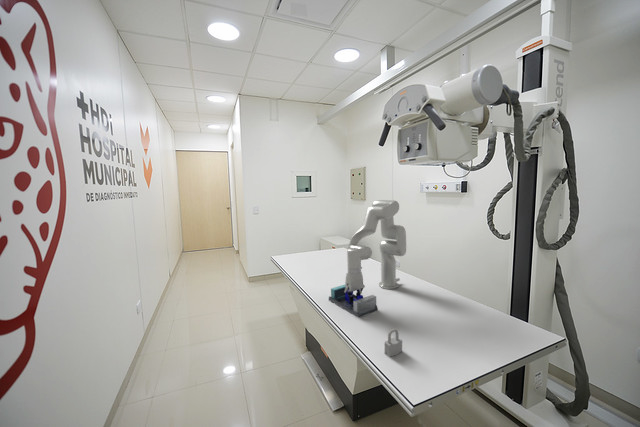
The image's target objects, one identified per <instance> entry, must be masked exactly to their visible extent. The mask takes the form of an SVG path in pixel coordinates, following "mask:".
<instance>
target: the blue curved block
mask: <svg viewBox="0 0 640 427" xmlns="http://www.w3.org/2000/svg"><path fill="white" fill-rule="evenodd" d="M348 291H349V290H348ZM350 293H351V292H350ZM362 298H364V295H362V294H361V295H359V296H357V300H359V299H362ZM345 300H346V301H348V302H349V295H348V294H346V293H345ZM354 301H356V300H355V299H354ZM350 303H351V302H350ZM351 304H352V303H351Z"/></svg>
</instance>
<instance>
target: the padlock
mask: <svg viewBox="0 0 640 427" xmlns="http://www.w3.org/2000/svg"><path fill="white" fill-rule="evenodd" d="M393 333H395V337H392V335H393ZM387 334H388V335H387V340H386V341H384V343H383V344H384V354H385V355H387V356H388V357H389V358H390V357H393V356H396V355H399V354H400V353H402V352H403V340H402V339H401V338H400V336H399V335H400V333H399V330H398V329H397V328H391V330H389V331H388V333H387Z"/></svg>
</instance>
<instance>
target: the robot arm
mask: <svg viewBox="0 0 640 427" xmlns="http://www.w3.org/2000/svg"><path fill="white" fill-rule="evenodd" d="M371 204H372V205H371V206H369V207H368V208H367V209H366V212H365V215H364V219H363V222H362V225H361V227H360V229H358V230H357V231H356V232H355V233H354V234H353V235H352V236H351V238H350V240H349V244H348V246H347V247H348V248H347V252H346V254H347V257H346V258H347V273H346V275H345V282H344V285H345V291H344V292H345V293H346V294H348V295H349V302H351V303H352V304H353V301H354V297H353V294H354V292H356V293H355V295H356V299H357V296H359V295H362V293H363V292H362V291H363V290H364V288H365V287H366V286H365V284H364V277H363V272H362V269H363V267H362V261H365V260H369V259H370V258H371V257H372V255H373V250H372V248H370V247H369V246H366V245H360V244H359V242H360V241H361V240H362V239H364V238H366V237H369V236H371V235H374V234H375V232H376V230H377V227H378V224H379V221H380V233H381V234H380V235H381V237H382V238H383V239H384V240H382V241H381V242H380V243H379V253H380V265H381V267H380V268H381V269H380V270H381V273H380V274H381V276H380V277H381V279H380V280H381V281H380V282H379V283H378V286H379V287H380V288H382V289H386V290H395V289H398V287H399V284H398V283H397V282H400V281H401V278H400V277H398V278H397V275H396V274H397V273H396V272H397V270H396V265H397V263H396V258H395V256H396V257H403V256H405V255H406V253H407V232H406V229H405V227H404V226H402V225H399V224H395V222H394V216H395V215H396V214H397V213H398V212H399V210H400V204H399V202H398V201H397V200H394V199H393V200H388V199H387V200H386V199H381V200H380V199H379V200H374V201H373V202H372V203H371ZM348 290H349V291H348ZM350 292H351V293H350Z"/></svg>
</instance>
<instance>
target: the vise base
mask: <svg viewBox="0 0 640 427" xmlns="http://www.w3.org/2000/svg"><path fill="white" fill-rule="evenodd" d="M353 297H354V299H355V300H356V301H353V304H351V303H350V302H348V301H346V300H345V296H344V297H340V298H337V299H334V298H332V297H331V295H329V296H328V301H329V302H331V303H333V304H334V303H335V304H334V305H337V306H338V307H340V308H341V309H343V310H344V311H347V312H348V313H350V314H351V315H353V316H355V317H357V318H362V317H364V316H366V315H370V314H372V313H375V312H377V311H379V308H378V305H377V296H376V295H374V294H372V295H368V296H365V297H364V296H363V298H362V299H359V300H357V299H356V294H354V293H353Z"/></svg>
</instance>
